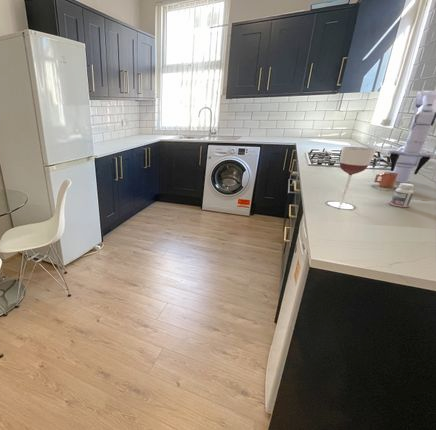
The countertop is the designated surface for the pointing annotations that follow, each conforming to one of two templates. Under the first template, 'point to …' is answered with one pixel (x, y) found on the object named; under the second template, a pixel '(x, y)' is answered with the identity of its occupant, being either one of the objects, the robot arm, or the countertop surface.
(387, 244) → the countertop surface
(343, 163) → the wineglass
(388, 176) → the mug
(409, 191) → the pill bottle
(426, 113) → the robot arm
